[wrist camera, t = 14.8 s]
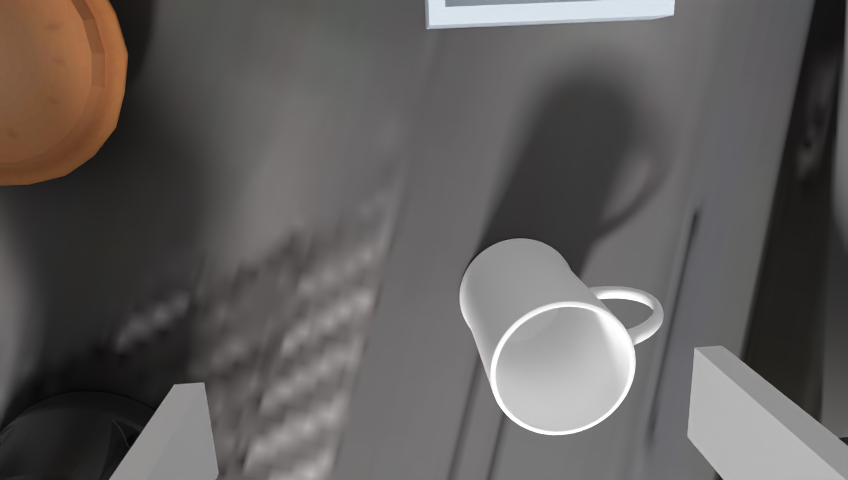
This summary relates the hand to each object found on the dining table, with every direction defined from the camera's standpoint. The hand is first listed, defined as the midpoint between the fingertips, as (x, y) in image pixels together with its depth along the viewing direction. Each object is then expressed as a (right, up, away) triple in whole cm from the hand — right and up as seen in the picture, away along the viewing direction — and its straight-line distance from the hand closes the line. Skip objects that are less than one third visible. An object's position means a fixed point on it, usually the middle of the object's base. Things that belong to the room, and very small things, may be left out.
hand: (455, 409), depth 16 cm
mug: (+8, +1, +28) cm, 29 cm away
